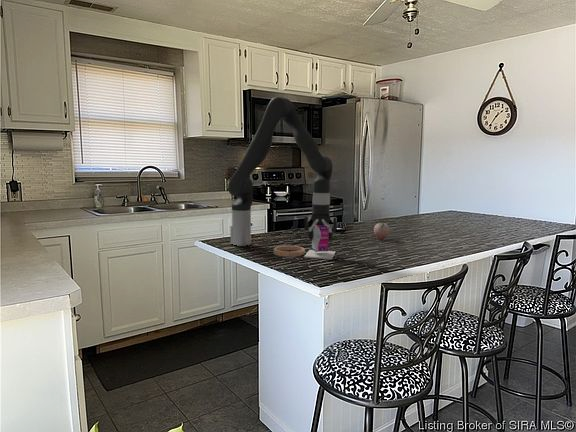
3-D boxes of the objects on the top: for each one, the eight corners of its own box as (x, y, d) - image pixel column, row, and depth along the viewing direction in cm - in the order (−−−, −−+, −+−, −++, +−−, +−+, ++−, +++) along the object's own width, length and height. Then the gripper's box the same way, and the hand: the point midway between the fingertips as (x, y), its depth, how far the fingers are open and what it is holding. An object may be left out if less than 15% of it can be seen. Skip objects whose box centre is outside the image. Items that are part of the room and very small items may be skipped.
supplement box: (315, 252, 177) (316, 225, 176) (311, 249, 183) (312, 223, 181) (328, 251, 179) (329, 225, 177) (323, 248, 184) (324, 223, 183)
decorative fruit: (391, 241, 213) (392, 222, 212) (375, 241, 213) (376, 222, 212) (387, 238, 223) (388, 219, 221) (372, 237, 223) (372, 219, 221)
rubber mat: (304, 257, 176) (304, 256, 176) (309, 251, 189) (309, 249, 188) (332, 259, 173) (332, 257, 173) (335, 252, 186) (335, 251, 186)
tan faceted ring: (270, 255, 179) (270, 251, 179) (278, 249, 192) (278, 245, 192) (301, 257, 176) (301, 252, 176) (306, 250, 189) (307, 246, 189)
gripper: (303, 203, 176) (302, 241, 178) (336, 204, 173) (335, 242, 175) (306, 201, 183) (305, 237, 185) (338, 202, 180) (337, 239, 182)
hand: (320, 240), depth 180 cm, fingers closed on supplement box, 7 cm apart
